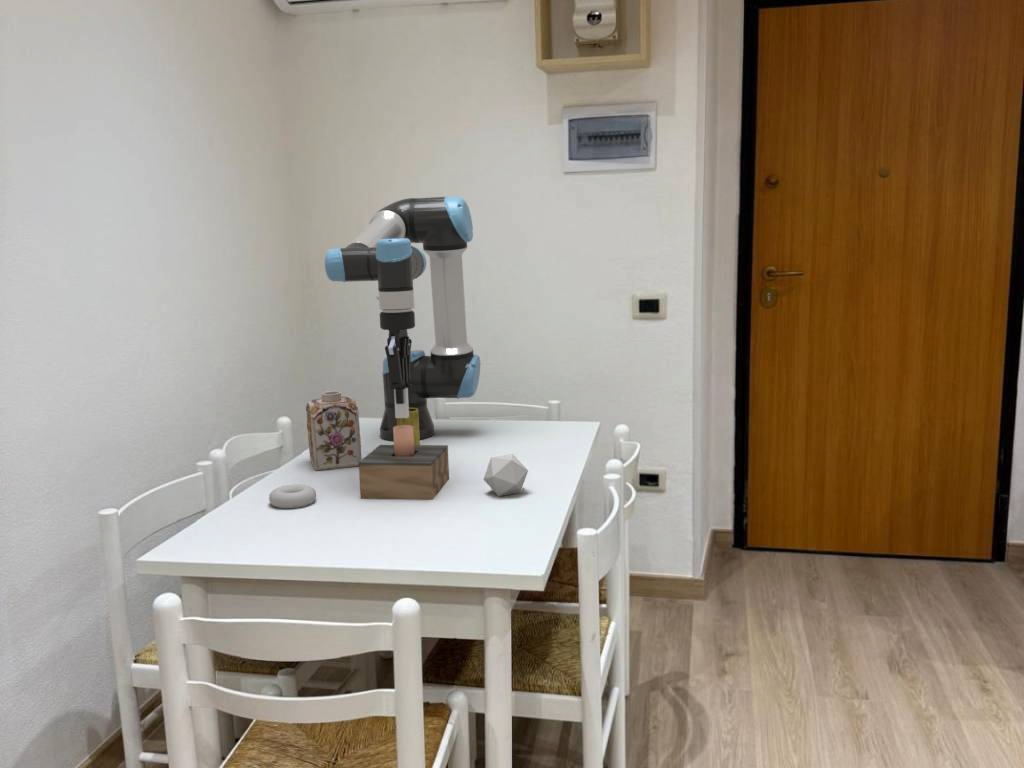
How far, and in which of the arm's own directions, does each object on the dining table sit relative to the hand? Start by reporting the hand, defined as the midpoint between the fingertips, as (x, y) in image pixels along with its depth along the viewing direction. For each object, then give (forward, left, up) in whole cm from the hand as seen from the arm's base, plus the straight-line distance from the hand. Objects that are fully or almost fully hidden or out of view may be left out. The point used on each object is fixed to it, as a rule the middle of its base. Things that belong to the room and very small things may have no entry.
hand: (402, 417), depth 212 cm
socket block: (0, 0, -16) cm, 16 cm away
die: (+2, +23, -17) cm, 28 cm away
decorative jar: (-21, -24, -17) cm, 36 cm away
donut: (+12, -22, -17) cm, 30 cm away
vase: (-18, -4, -17) cm, 25 cm away
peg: (0, 0, -10) cm, 10 cm away
